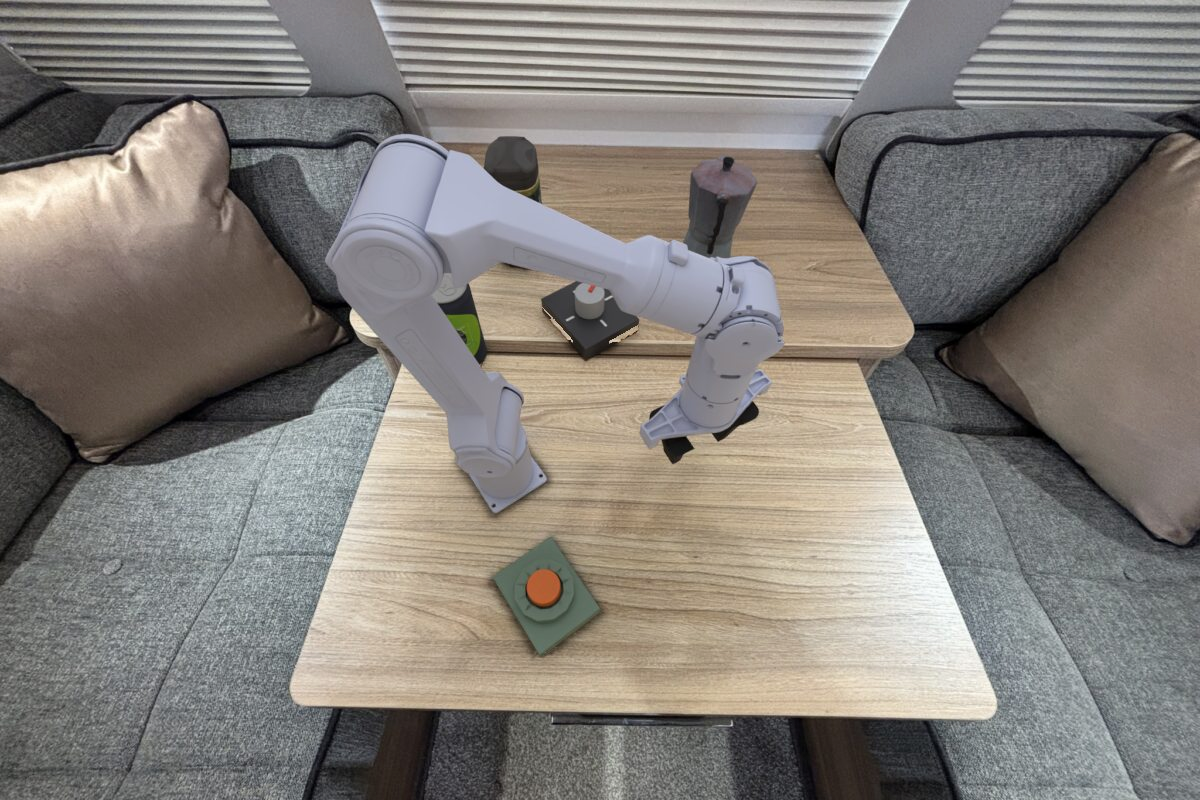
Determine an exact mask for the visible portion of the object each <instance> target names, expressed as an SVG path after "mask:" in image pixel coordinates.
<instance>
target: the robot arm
mask: <svg viewBox="0 0 1200 800" xmlns="http://www.w3.org/2000/svg"><path fill="white" fill-rule="evenodd" d="M352 199H353V200H352V202H351V204H350V206H349V209H348V211H347V213H346V214H345V215H346V216H345V218H344V219H343V222H342V225H341V227H340V230H339V232H338V234H337V236H336V238H335V240H334V241H333V244H332V245H331V246H330V248H329V250H328V251H327V254H326V257H325V259H324V263H325V264H326V266H328V268H329V269H330V270H331V271H332V272H333V274H334V275H335V278H336V284H337V290H338V293H339V294H340V296H342V298H343V300H345V302H346V303H347V304H348V305H349V306H350V308H352V309H353V311H355V313H356V314H357V315H358V316H359V317H360V318H361V320H362V321H363V322H364V323H365V325H367V326H368V327H369V329H370V330H371V331H372V332H373V333H374V334H375V335H376V337H377V338H379V340H380V341H381V342H382V343H383V344H384V345H385V347H386V348H387V349H388V350H389V351H390V352H391V353H392V354H393V355H394V357H395V358H396V359H397V360H398V361H399V362H400V363H401V365H402V366H403V367H404V368H405V369H406V370H407V371H408V372H409V374H410V375H411V376H412V377H413V378H414V379H415V380H416V381H417V383H418V384H419V385H420V386H421V387H422V388H423V389H424V391H426V392H427V394H428V395H429V396H430V397H431V398H432V399H433V400H434V402H436V404H437V405H438V406H439V407H440V408H441V409H442V411H443V412H444V413H445V415H446V422H447V435H448V445H449V449H450V450H451V451H452V452H453V453H454V455H455V464H456V465H457V466H458V467H459V468H460V469H461V470H462V471H463V472H465V473H466V474H468V476H469V477H470V479H471V480H472V482H473V484H474V485H475V487H476V488H477V491H479V493H480V494H481V496H482V498H483V499H484V501H485V502H486V504H487V505H488V507H489V509H490V510H491V512H492V513H493V514H498V513H500V512H502V511H503V510H504V509H506V508H508V507H510V506H511V505H513V504H514V503H515V502H517V501H519V500H520V499H522V498H524V497H525V496H527V495H528V494H530V493H531V492H533V491H534V490H536V489H538V488H539V487H541V486H542V485H544V484H545V483H547V481H548V478H547V476H546V474H545V473H544V471H543V470H542V469H541V467H540V466H539V465H538V463H537V462H536V460H535V459H534V458H533V456H532V455H531V451H530V446H529V442H528V438H527V434H526V429H525V428H524V426H523V425H522V422H521V416H522V415H521V414H522V407H523V405H524V402H525V396H524V394H523V392H522V391H521V390H520V389H519V388H518V387H516V386H515V385H514V384H512V383H510V382H509V381H507V379H506V378H505V377H504V376H503V374H502V373H501V372H495V371H484V369H483V367H482V366H481V364H480V365H479V363H478V362H477V361H476V359H475V358H474V356H473V355H472V353H471V352H470V350H469V349H468V347H467V346H466V344H465V343H464V342H463V340H462V339H461V337H460V336H459V334H458V333H457V331H456V330H455V328H454V327H453V325H452V324H451V323H450V321H449V320H448V318H447V317H446V315H445V314H444V312H443V311H442V309H441V308H440V306H439V305H438V304H437V302H436V301H435V299H434V298H433V296H432V295H431V294H433V293H434V292H435V291H436V290H437V289H438V288H439V286H440V285H441V283H442V279H443V275H444V273H452V280H453V287H454V288H461V287H463V286H465V285H466V284H468V283H469V284H470V283H471V282H472V281H474V280H476V279H477V278H478V277H481V276H482V275H483V274H485V273H486V272H488V271H489V270H491V269H492V268H494V267H496V266H497V265H499V264H502V263H504V264H506V263H508V264H507V265H509V264H512V265H511V266H514V265H516V266H515V267H520V268H524V269H528V270H532V271H536V272H539V273H543V274H547V275H551V276H554V277H558V278H562V279H566V280H567V279H568V280H571V281H573V282H575V281H578V282H581V283H585V284H589V285H593V286H597V287H601V288H605V289H608V290H609V291H610V292H611V294H612V295H613V297H614V299H615V301H616V303H617V305H618V307H619V308H620V309H621V310H622V311H623V312H626V313H629V314H632V315H635V316H637V317H638V318H641V319H643V320H647V321H650V322H653V323H656V324H659V325H661V326H664V327H668V328H670V329H674V330H677V331H680V332H682V333H685V334H689V335H692V336H695V339H694V344H693V348H692V351H691V356H690V359H689V363H688V366H687V370H686V372H685V374H682V375H681V376H679V381H678V383H679V386H680V387H681V388H680V389H679V390H678V391H677V392H676V393H675V394H674V395H673V396H672V397H671V398H670V399H669V400H668V401H667V402H666V403H665V404H663V405H661V406H659V407H657V408H654V409H653V410H651V412H650V413H649V416H648V419H647V421H645V422H643V423H641V424H640V426H639V427H640V428H639V433H638V434H639V436H640V437H641V439H642V441H643V442H644V444H645V446H646V447H647V448H648V449H649V450H651V449H653V448H656V447H657V446H658V444H659V442H660V441H661V443H662V444H661V445H662V450H663V453H664V454H665V455H666V457H667V459H668V460H669V462H670V463H671V464H672V465H675V464H677V463H679V462H680V461H681V460H682V458H683V457H684V455H685V454H687V453H689V452H691V451H693V450H696V449H695V447H694V445H693V444H692V442H691V441H690V439H689V437H690V436H699V435H701V436H702V435H708V434H711V435H712V436H713V438H714V439H715V440H716V442H717V443H719V442H722V441H723V440H725V439H726V438H727V437H728V436H729V435H731V433H733V432H734V431H735V430H736V429H737V428H739V427H740V426H744V425H746V424H748V423H750V422H752V421H754V420H756V419H757V418H758V416H759V414H760V410H759V407H758V405H757V404H756V403H755V402H754V400H755V399H756V398H757V397H758V396H763V395H765V394H767V393H768V392H769V390H770V387H771V386H772V384H773V381H772V380H771V379H770V378H769V377H768V375H767V374H766V372H764V370H763V369H762V368H759V369H758V366H759V365H760V364H761V363H762V362H763V361H765V360H767V359H770V358H771V357H773V356H774V355H776V354H777V353H778V352H779V351H781V350H782V348H783V347H784V346H785V344H786V342H785V341H783V336H784V330H785V328H784V322H783V317H782V312H781V307H780V300H779V296H778V291H777V284H776V280H775V278H774V275H773V271H772V270H771V268H770V267H769V266H768V265H767V264H766V263H765V262H763V261H761V260H759V259H758V258H757V257H756V256H751V255H738V256H737V255H736V256H732V257H730V258H720V257H718V256H717V257H716V258H713V257H710V258H707V257H705V256H702V255H700V254H697V253H695V252H692V251H689V250H688V246H687V245H686V244H684V243H683V242H681V241H679V240H676V239H671V241H667V240H664V239H662V238H659V237H657V236H654V235H652V234H645V235H642V236H639V237H638V238H636V239H633V240H630V241H629V242H623V241H621V240H619V239H617V238H615V237H613V236H611V235H608V234H606V233H604V232H602V231H600V230H597V229H596V228H593V227H591V226H589V225H587V224H586V223H583V222H581V221H579V220H576V219H574V218H572V217H570V216H568V215H566V214H564V213H562V212H559V211H557V210H555V209H553V208H551V207H549V206H546V205H544V204H543V203H542V204H540V203H538V202H536V201H534V200H532V199H530V198H527V197H525V196H523V195H521V194H519V193H517V192H515V191H512V190H510V189H508V188H506V187H504V186H502V185H501V184H499V183H498V182H497V181H496V180H495V179H494V178H493V177H492V176H491V175H490V174H489V173H487V172H486V171H485V170H484V167H483V166H481V165H480V163H478V162H477V161H476V160H475V159H474V158H473V157H472V156H470V155H469V154H468V153H464V152H460V151H457V150H452V149H449V151H448V150H447V149H446V148H445V147H443V146H442V145H441V144H439V143H437V142H435V141H434V140H432V139H430V138H427V137H425V136H421V135H418V134H412V133H401V134H394V135H392V136H389V137H387V138H385V139H384V140H382V141H381V142H380V143H379V144H378V145H377V147H376V149H375V150H374V152H373V154H372V156H371V157H370V159H369V160H368V162H367V164H366V166H365V168H364V170H363V172H362V173H361V176H360V179H359V181H358V185H357V188H356V191H355V193H354V197H353V198H352ZM540 476H542V477H540ZM493 506H494V507H493Z"/></svg>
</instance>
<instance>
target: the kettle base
mask: <svg viewBox="0 0 1200 800" xmlns="http://www.w3.org/2000/svg"><path fill="white" fill-rule="evenodd" d="M542 569H547V570H550V571H552V572H554V573H555V574H556V575H557V576H558V578H559V581H560V585H561V593H560V596H559V598H558V599H557V601H556V602H555V603H554V604H552V605H550V606H547V607H541V606H537V605H536V604H534V603H533V602H532V601H531V599H530V597H529V595H528V593H527V582H528V580H529V578H530V576H531V575H532V574H533V573H534V572H536V571H538V570H542ZM492 579H493V581H494V582H495V584H496V586H497V588H498V589H499V591H500V593H501V594H502V596H503V597H504V599H505V601H506V602H507V604H508V606H509V607H510V609H511V611H512V613H513V614H514V615H515V618H516V619H517V621H518V622H519V625H520V626H521V627H522V629H523V630H524V633H525V634H526V636H527V637H528V639H529V641H530V642H531V645H532V646H533V647H534V649H535V651H536V652H537V654H538V656H539V657H540V658H543V656H545V655H547V654H548V653H549V652H550V651H551V650H553V649H555V647H557V646H558V645H559V644H561V643H562V642H563V641H565V640H566V639H567V638H569V637H570V636H571V635H572V634H574V633H575V632H577V631H578V630H579V629H580V628H582V627H583V626H584V625H586V624H587V623H588V622H590V621H591V620H592V619H594V618H595V617H596V616H598V615H599V614H600V613H601V608H600V606H599V605H598V603H597V602H596V600H595V599H594V597H593V596H592V594H591V593H590V591H589V590H588V588H587V587H586V586H585V584H584V582H583V581H582V579H581V578H580V577H579V575H578V574H577V572H576V571H575V569H574V568H573V567H572V564H570V562H569V561H568V559H567V558H566V556H565V555H564V554H563V552H562V551H561V549H560V547H559V546H558V545H557V543H556V541H555V540H554V539H553V537H552V536H551V537H548V538H547V539H545V540H544V541H543V542H542V543H540V544H538V545H537V546H535V547H534V548H532V549H531V550H529V551H528V552H527V553H525V554H524V555H522V556H521V557H519V558H518V559H516V560H514V561H513V562H512V563H511V564H508V566H506V567H504V568H503V569H502V570H500V571H499V572H497V573H496V574H494V575H493V576H492ZM545 652H546V653H545Z"/></svg>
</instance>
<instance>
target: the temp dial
mask: <svg viewBox="0 0 1200 800" xmlns="http://www.w3.org/2000/svg"><path fill="white" fill-rule="evenodd" d="M604 295H605V292H604V289H603V288H601V287H597V286H593V285H589V284H585V283H582V284H580V285H578V286H577V288H576V289H575V310H576V313H577V314H578V315H579V316H580V317H582V318H584V319H595V318H598V317H599V316H601V315H602V313H603V311H604Z"/></svg>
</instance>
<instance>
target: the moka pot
mask: <svg viewBox="0 0 1200 800" xmlns="http://www.w3.org/2000/svg"><path fill="white" fill-rule="evenodd" d="M689 181H690V182H689V194H688V195H689V197H688V215H687V217H688V219H689V224H688V229H687V231H686V234H685V236H684V238H683V242H682V243H684V244H686V245H687V246H688V250H689V251H692V252H695V253H697V254H700V255H702V256H705V257H707V258H710V257H713V258H716V257H717V256H718V257H720V258H731V255H732V254H731V253H732V246H733V237H734V235H735V232H736V229H737V227H738V226H739V225H740V223H741V221H742V219H743V216H744V214H745V212H746V211H747V207H748V205H749V203H750V200H751V198H752V196H753V194H754V192H755V189H756V187H757V185H758V180H757V178H756V176H755V175H754V174H753V172H752V170H751V168H750V167H749V166H748V165H745V164H743V163H740V162H737V161H736V160H735V159H734V157H733V156H732V155H724V154H720V155H719V156H718V157H717V158H713V159H712V158H711V159H702V160H701V161H700V162H699V163H698V164H697V165H696V166H695V167H694V169H692V170H691V173H690V179H689Z"/></svg>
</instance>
